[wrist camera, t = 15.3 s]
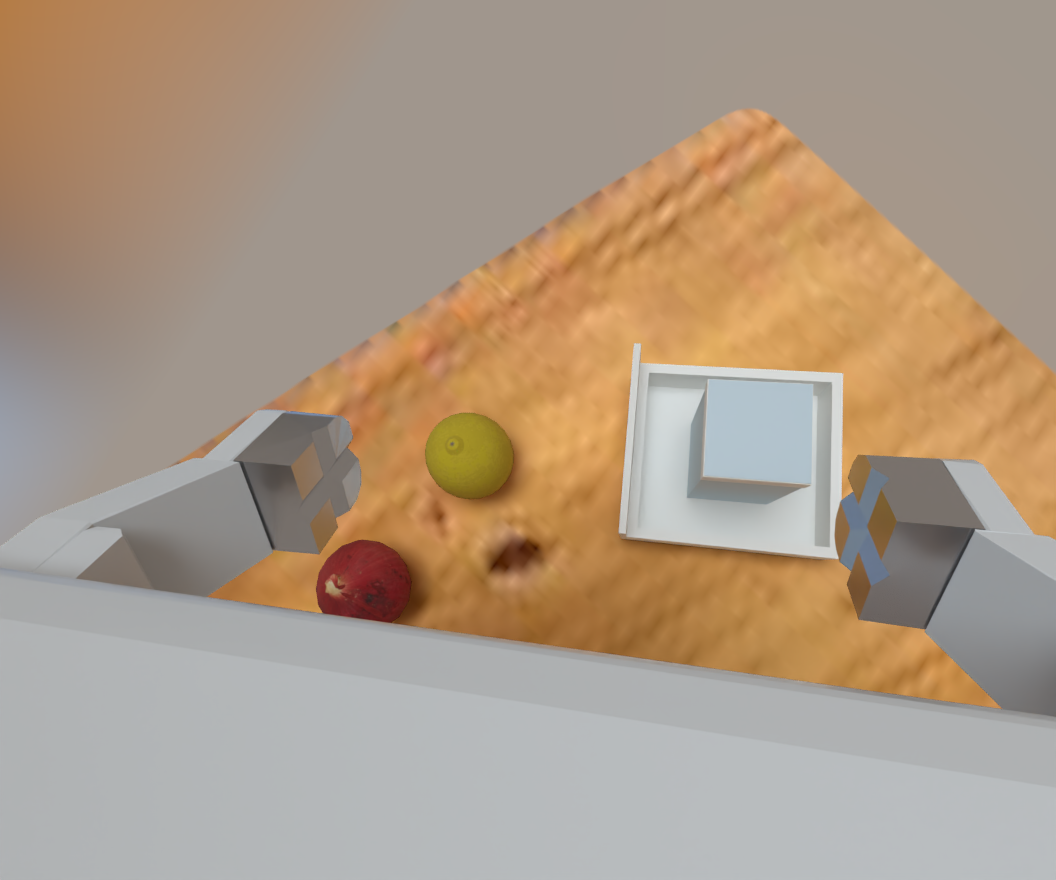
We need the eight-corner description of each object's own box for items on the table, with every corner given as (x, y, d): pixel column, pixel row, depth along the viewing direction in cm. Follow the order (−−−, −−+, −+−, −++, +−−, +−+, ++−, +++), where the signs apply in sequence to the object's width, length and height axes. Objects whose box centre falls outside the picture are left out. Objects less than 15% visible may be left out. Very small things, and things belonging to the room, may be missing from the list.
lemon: (500, 414, 43) (471, 381, 36) (536, 479, 42) (515, 460, 34) (435, 453, 44) (392, 428, 36) (469, 519, 42) (432, 508, 34)
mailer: (822, 559, 38) (863, 558, 31) (621, 538, 40) (618, 533, 33) (825, 389, 40) (864, 353, 33) (633, 379, 42) (634, 343, 35)
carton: (767, 505, 38) (812, 484, 29) (686, 498, 39) (703, 476, 30) (769, 428, 39) (813, 383, 30) (690, 423, 40) (707, 378, 31)
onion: (441, 568, 42) (397, 569, 34) (399, 643, 41) (345, 660, 33) (375, 528, 43) (319, 520, 35) (334, 599, 43) (268, 606, 35)
